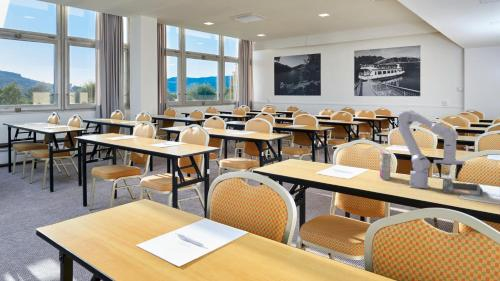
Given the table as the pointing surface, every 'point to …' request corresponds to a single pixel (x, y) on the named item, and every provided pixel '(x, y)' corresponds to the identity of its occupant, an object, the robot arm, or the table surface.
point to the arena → (467, 189)
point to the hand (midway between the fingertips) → (448, 177)
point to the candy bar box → (385, 165)
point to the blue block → (447, 185)
